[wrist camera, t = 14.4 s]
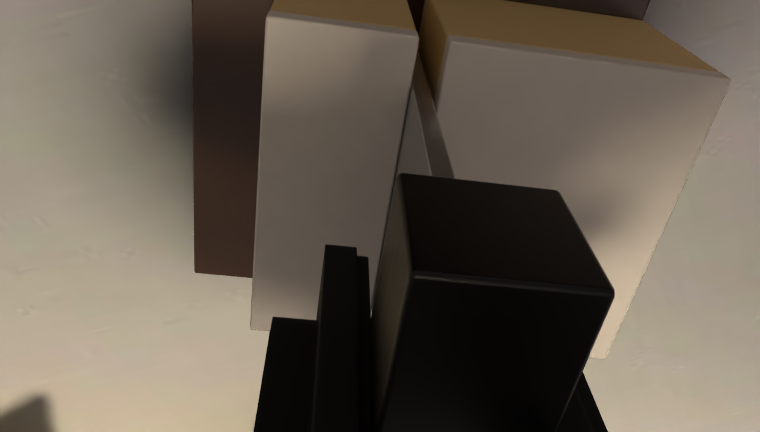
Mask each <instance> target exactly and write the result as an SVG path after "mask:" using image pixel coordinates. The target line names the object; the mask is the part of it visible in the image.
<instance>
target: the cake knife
mask: <svg viewBox="0 0 760 432" xmlns="http://www.w3.org/2000/svg"><path fill="white" fill-rule="evenodd" d="M614 297H615V290H614V288H613V286H612V284H611V283H610V281H609V279H608V277H607V275H606V274H605V272H604V270H603V268H602V267H601V265H600V263H599V261H598V259H597V258H596V256H595V254H594V252H593V250H592V249H591V247H590V245H589V243H588V242H587V240H586V238H585V236H584V234H583V233H582V231H581V229H580V227H579V225H578V224H577V222H576V220H575V218H574V217H573V215H572V213H571V211H570V209H569V208H568V206H567V204H566V202H565V200H564V199H563V197H562V195H561V193H560V192H558V191H557V190H552V189H543V188H534V187H525V186H516V185H507V184H498V183H489V182H480V181H471V180H463V179H455V175H454V172H453V169H452V165H451V162H450V158H449V155H448V151H447V148H446V144H445V141H444V137H443V134H442V130H441V127H440V123H439V120H438V116H437V113H436V109H435V106H434V102H433V99H432V95H431V92H430V89H429V85H428V82H427V78H426V75H425V71H424V68H423V64H422V61H421V57H420V54H419V50H418V49H417V54H416V60H415V66H414V71H413V77H412V82H411V88H410V94H409V99H408V105H407V110H406V116H405V122H404V127H403V133H402V138H401V144H400V150H399V155H398V161H397V167H396V172H395V178H394V183H393V189H392V195H391V200H390V206H389V211H388V217H387V223H386V228H385V234H384V239H383V245H382V251H381V256H380V262H379V267H378V273H377V279H376V284H375V290H374V295H373V301H372V307H371V311H372V315H371V321H370V327H369V359H370V392H371V432H556V431H557V429H558V427H559V424H560V422H561V420H562V417H563V415H564V413H565V410H566V408H567V406H568V403H569V401H570V399H571V397H572V394H573V392H574V390H575V387H576V385H577V383H578V380H579V378H580V376H581V373H582V371H583V369H584V367H585V364H586V362H587V360H588V357H589V355H590V353H591V350H592V348H593V346H594V343H595V341H596V339H597V337H598V334H599V332H600V330H601V327H602V325H603V323H604V320H605V318H606V316H607V313H608V311H609V309H610V307H611V304H612V302H613V300H614Z"/></svg>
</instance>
